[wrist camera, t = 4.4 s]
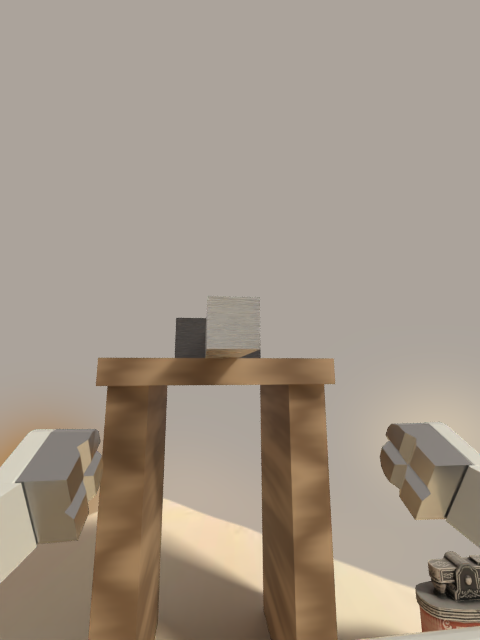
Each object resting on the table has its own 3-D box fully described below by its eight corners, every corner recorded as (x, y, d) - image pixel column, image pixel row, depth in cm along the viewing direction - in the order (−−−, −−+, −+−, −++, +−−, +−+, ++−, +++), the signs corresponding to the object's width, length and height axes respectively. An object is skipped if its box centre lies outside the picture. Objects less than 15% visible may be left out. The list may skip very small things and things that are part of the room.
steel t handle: (145, 348, 13) (149, 263, 14) (178, 362, 31) (179, 324, 31) (316, 349, 14) (312, 270, 15) (253, 362, 32) (253, 325, 32)
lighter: (448, 738, 20) (431, 574, 22) (415, 686, 23) (402, 547, 25) (554, 726, 21) (529, 567, 23) (507, 678, 24) (489, 542, 26)
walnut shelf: (60, 816, 17) (98, 357, 21) (124, 616, 30) (139, 363, 35) (357, 764, 19) (333, 358, 23) (292, 599, 33) (285, 363, 37)
